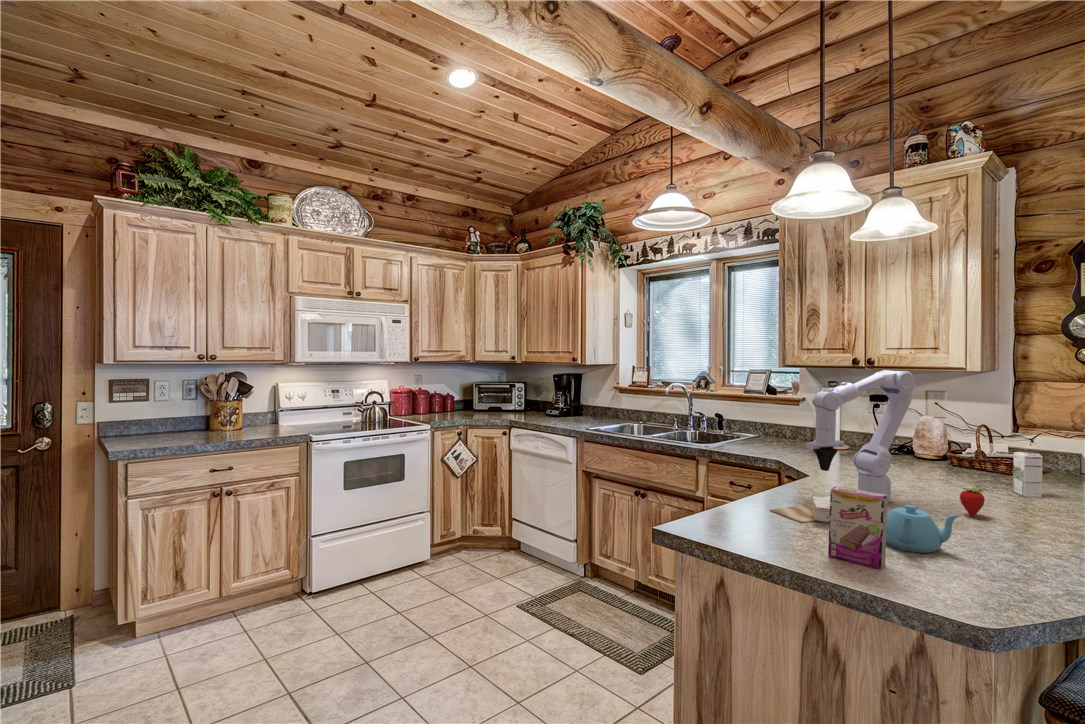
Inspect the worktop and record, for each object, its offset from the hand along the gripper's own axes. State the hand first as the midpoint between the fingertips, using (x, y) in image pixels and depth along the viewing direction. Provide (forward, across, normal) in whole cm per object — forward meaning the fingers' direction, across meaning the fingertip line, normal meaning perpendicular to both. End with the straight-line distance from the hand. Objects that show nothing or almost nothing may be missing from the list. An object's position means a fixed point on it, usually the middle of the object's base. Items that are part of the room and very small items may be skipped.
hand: (824, 470), depth 174 cm
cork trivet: (+10, +18, +8) cm, 22 cm away
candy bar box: (+11, +34, +39) cm, 53 cm away
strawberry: (+11, -30, +26) cm, 41 cm away
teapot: (+11, +13, +37) cm, 41 cm away
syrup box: (+11, -75, +17) cm, 78 cm away
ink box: (+8, +9, +9) cm, 15 cm away
